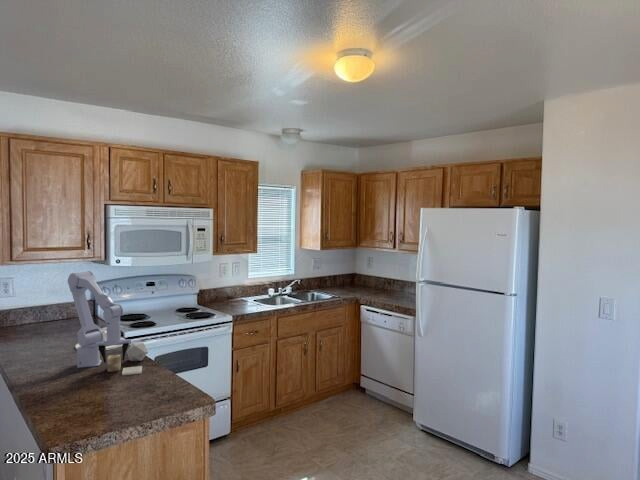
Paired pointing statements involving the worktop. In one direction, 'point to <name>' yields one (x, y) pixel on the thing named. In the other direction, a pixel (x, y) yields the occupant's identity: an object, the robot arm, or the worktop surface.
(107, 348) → the dish
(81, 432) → the worktop surface
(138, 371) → the tray
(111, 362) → the maple block
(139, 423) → the worktop surface
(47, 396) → the worktop surface
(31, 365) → the worktop surface
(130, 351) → the die
